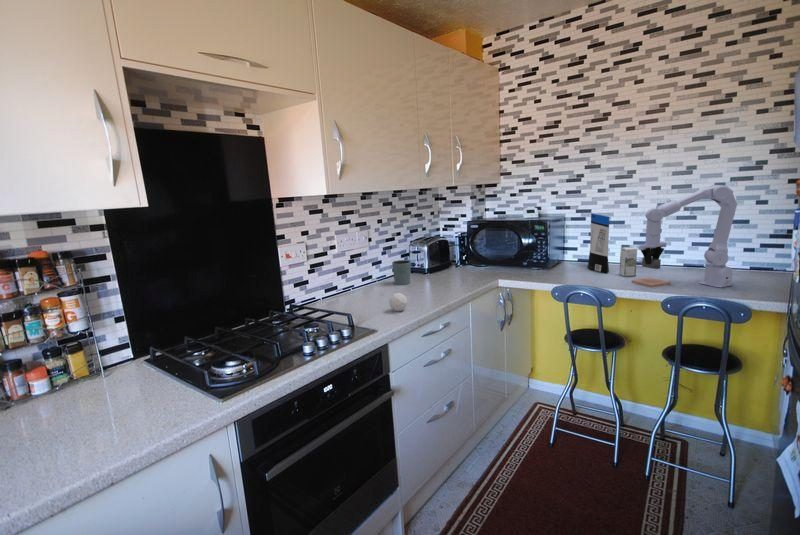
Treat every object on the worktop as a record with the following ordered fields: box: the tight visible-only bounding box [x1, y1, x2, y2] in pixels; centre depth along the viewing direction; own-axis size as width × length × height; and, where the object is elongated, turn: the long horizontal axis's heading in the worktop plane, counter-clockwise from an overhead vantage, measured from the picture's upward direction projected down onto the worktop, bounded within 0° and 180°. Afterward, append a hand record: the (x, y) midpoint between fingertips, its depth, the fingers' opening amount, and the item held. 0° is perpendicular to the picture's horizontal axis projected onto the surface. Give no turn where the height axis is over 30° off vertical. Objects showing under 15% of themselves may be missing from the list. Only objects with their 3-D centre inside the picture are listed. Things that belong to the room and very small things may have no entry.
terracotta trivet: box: [631, 277, 671, 288], centre depth 196 cm, size 11×11×1 cm
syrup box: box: [619, 246, 638, 277], centre depth 211 cm, size 6×6×14 cm
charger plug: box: [638, 257, 662, 270], centre depth 195 cm, size 10×4×4 cm, turn 18°
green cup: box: [391, 259, 412, 286], centre depth 225 cm, size 10×10×12 cm
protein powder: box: [587, 213, 610, 275], centre depth 227 cm, size 10×24×30 cm, turn 176°
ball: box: [388, 292, 408, 312], centre depth 178 cm, size 8×8×8 cm
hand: (651, 263), depth 194 cm, fingers closed on charger plug, 4 cm apart
